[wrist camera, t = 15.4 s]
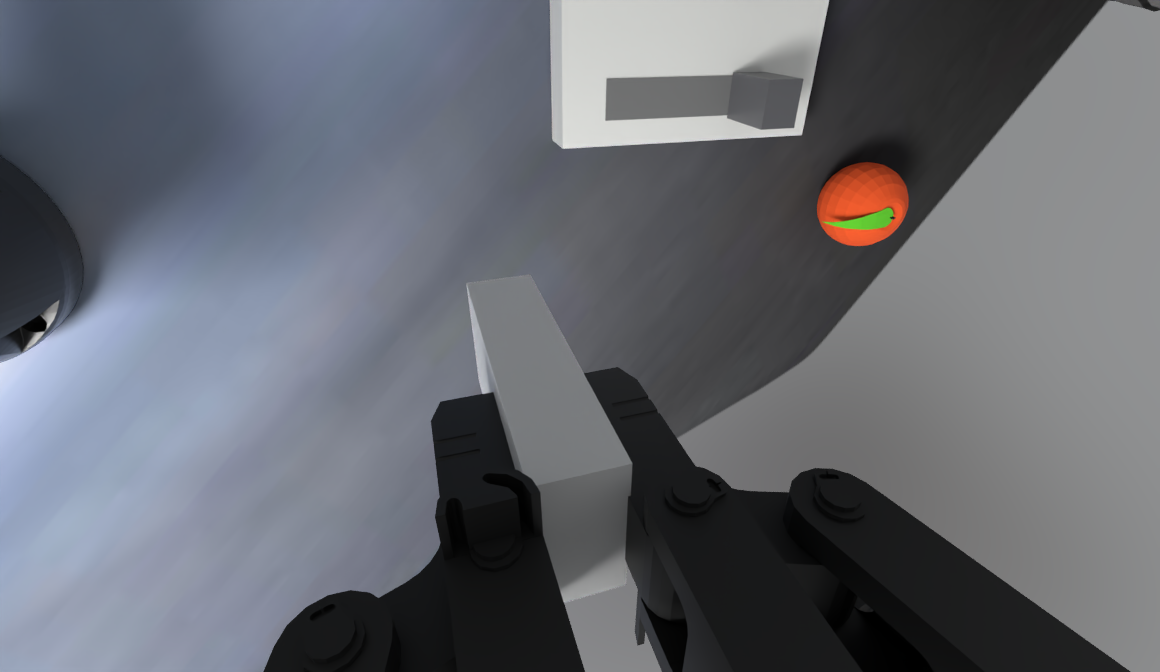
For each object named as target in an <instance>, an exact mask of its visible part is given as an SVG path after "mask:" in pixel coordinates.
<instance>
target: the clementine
mask: <svg viewBox="0 0 1160 672" xmlns="http://www.w3.org/2000/svg"><path fill="white" fill-rule="evenodd" d="M908 202H909V198H908V192H907V188H906V185H905V183H904V182H903V180H902V179H901V177H900V176H899V175H898V173H896V172H895V171H893V170H892V169H890V168H889V167H887V166H885V165H882V164H877V163H871V162H863V163H857V164H853V165H849V166H847V167H845V168H843V169H841V170H840V171H838V172H837V173H836V174H834V175H833V176H832V177H831V178H830V179H829V180H828V181H827V182H826V183H825V185H824V186H823V188H822V190H821V192H820V195H819V198H818V203H817V216H818V219H819V222H820V224H821V226H822V228H823V229H824V231H825V232H826V233H827V234H828V235H829V236H830V237H832V238H833V239H834V240H836V241H838V242H840V243H843V244H846V245H851V246H865V245H871V244H874V243H876V242H878V241H881V240H883V239H885V238H887V237H888V236H889V235H891V234H892V233H893V232H894V231H895V230H896V229H897V228H898V227H899V225H900V224H901V223H902V221H903V219H904V217H905V215H906V213H907V209H908Z"/></svg>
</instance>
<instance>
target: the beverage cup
mask: <svg viewBox="0 0 1160 672" xmlns="http://www.w3.org/2000/svg"><path fill="white" fill-rule="evenodd" d="M1110 1H1118V2H1121V3H1124V4H1128V5H1133V6H1137V7H1142V8H1145V9H1148V10H1151V11H1158V10H1160V0H1110Z"/></svg>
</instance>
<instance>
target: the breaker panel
mask: <svg viewBox="0 0 1160 672" xmlns="http://www.w3.org/2000/svg"><path fill="white" fill-rule="evenodd" d="M828 4H829V0H550V41H551V98H552V140H553V141H554V142H555V143H557V144H558V145H559V146H560V147H561V148H563V149H566V148H584V147H601V146H619V145H636V144H654V143H671V142H689V141H706V140H724V139H741V138H759V137H776V136H794V135H802V132H803V127H804V122H805V117H806V112H807V107H808V102H809V97H810V92H811V88H812V83H813V78H814V73H815V68H816V63H817V58H818V53H819V48H820V43H821V38H822V33H823V28H824V23H825V19H826V14H827V9H828Z"/></svg>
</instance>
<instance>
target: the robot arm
mask: <svg viewBox="0 0 1160 672" xmlns="http://www.w3.org/2000/svg"><path fill="white" fill-rule="evenodd" d="M82 280H83V265H82V258H81V254H80V250H79V247H78V244H77V241H76V239H75V236H74V234H73V232H72V230H71V228H70V226H69V224H68V223H67V221H66V220H65V218H64V216H63V215H62V213H61V212H60V211H59V209H58V208H57V207H56V205H55V204H54V203H53V202H52V201H51V199H50V198H49V197H48V196H47V195H46V194H45V193H44V192H43V191H42V190H41V189H40V188H39V187H38V186H37V185H36V184H35V183H34V182H33V181H32V180H31V179H30V178H28V177H27V176H26V175H25V174H24V173H22V172H21V171H20V170H19V169H17V168H16V167H15V166H13V165H12V164H11V163H9V162H8V161H6V160H5V159H3V158H2V157H0V363H1V362H4V361H7V360H9V359H12V358H14V357H16V356H18V355H20V354H22V353H24V352H26V351H28V350H29V349H31V348H32V347H34V346H36V345H37V344H39V343H40V342H41V341H42V340H44V339H45V338H46V337H47V336H48V335H49V334H50V333H51V332H52V331H53V330H54V329H55V328H56V327H57V326H59V325H60V324H61V323H62V322H63V321H64V320H65V318H66V317H67V316H68V315H69V314H70V312H71V311H72V309H73V308H74V306H75V304H76V302H77V300H78V297H79V295H80V291H81V287H82ZM466 284H467V292H468V299H469V307H470V315H471V322H472V330H473V338H474V346H475V353H476V361H477V369H478V377H479V382H480V386H481V390H482V394H480V395H474V396H469V397H464V398H458V399H453V400H447V401H442V402H440V404H439V406H438V408H437V410H436V412H435V414H434V416H433V418H432V420H431V425H432V434H433V442H434V451H435V459H436V469H437V477H438V486H439V495H440V498H439V499H438V501H437V508H436V514H435V519H436V523H437V528H438V533H439V537H440V542H441V543H440V546H439V549H438V551H437V552H436V554H435V556H434V557H433V559H432V560H431V562H430V563H429V564H428V565H427V566H426V567H425V568H424V569H423V570H422V571H421V572H420V573H419V574H417V575H416V576H415V577H413V578H412V579H410V580H409V581H407V582H406V583H404V584H403V585H401V586H399V587H397V588H395V589H394V590H392V591H390V592H388V593H387V594H385V595H383V596H381V597H380V598H377V597H376V596H374V595H373V594H371V593H368V592H360V591H352V590H350V591H345V592H341V593H336V594H332V595H328V596H326V597H324V598H322V599H321V600H319V601H317V602H315V603H313V604H311V605H309V606H308V607H306V608H305V609H304V610H303V611H302V612H301V613H300V614H299V615H297V616H296V617H295V618H294V619H293V620H292V621H291V622H290V623H289V624H288V625H287V626H286V628H285V629H284V631H283V633H282V634H281V636H280V638H279V639H278V641H277V643H276V644H275V646H274V648H273V650H272V653H271V655H270V657H269V660H268V662H267V665H266V667H265V669H264V672H585V670H584V667H583V664H582V661H581V658H580V654H579V651H578V648H577V644H576V641H575V638H574V634H573V631H572V628H571V625H570V621H569V618H568V615H567V611H566V608H565V605H564V603H565V602H569V601H572V600H576V599H579V598H582V597H586V596H590V595H593V594H597V593H600V592H603V591H607V590H611V589H614V588H618V587H621V586H624V585H626V578H627V565H628V567H629V570H630V572H631V574H632V577H633V579H634V581H635V583H636V586H637V588H638V596H637V610H636V625H635V634H636V640H637V644H638V645H640V644H644V638H645V631H646V633H647V636H648V639H649V641H650V644H651V646H652V648H653V651H654V653H655V655H656V658H657V660H658V663H659V665H660V668H661V670H662V672H1130V671H1129V670H1127V669H1126V668H1125V667H1123V666H1122V665H1120V664H1119V663H1118V662H1116V661H1115V660H1113V659H1112V658H1111V657H1109V656H1108V655H1106V654H1105V653H1104V652H1102V651H1101V650H1099V649H1098V648H1096V647H1095V646H1094V645H1092V644H1091V643H1090V642H1088V641H1086V640H1085V639H1084V638H1083V637H1081V636H1080V635H1078V634H1077V633H1076V632H1074V631H1073V630H1071V629H1070V628H1069V627H1067V626H1066V625H1064V624H1063V623H1062V622H1060V621H1059V620H1057V619H1056V618H1055V617H1053V616H1052V615H1050V614H1049V613H1047V612H1046V611H1045V610H1043V609H1042V608H1041V607H1039V606H1038V605H1036V604H1035V603H1034V602H1032V601H1031V600H1030V599H1028V598H1027V597H1025V596H1024V595H1022V594H1021V593H1020V592H1018V591H1017V590H1016V589H1014V588H1013V587H1011V586H1010V585H1009V584H1007V583H1006V582H1004V581H1003V580H1002V579H1000V578H999V577H997V576H996V575H994V574H993V573H992V572H990V571H989V570H987V569H986V568H985V567H983V566H982V565H981V564H979V563H978V562H976V561H975V560H974V559H972V558H971V557H969V556H968V555H966V554H965V553H964V552H962V551H961V550H960V549H958V548H957V547H955V546H954V545H953V544H951V543H950V542H948V541H947V540H946V539H944V538H943V537H941V536H940V535H939V534H937V533H936V532H934V531H933V530H932V529H930V528H929V527H927V526H926V525H925V524H923V523H922V522H921V521H919V520H918V519H916V518H915V517H913V516H912V515H911V514H909V513H908V512H907V511H905V510H904V509H902V508H901V507H900V506H898V505H897V504H895V503H894V502H893V501H891V500H890V499H888V498H887V497H886V496H884V495H883V494H881V493H880V492H878V491H877V490H876V489H874V488H873V487H872V486H870V485H869V484H867V483H866V482H864V481H862V480H860V479H858V478H857V477H855V476H853V475H851V474H848V473H844V472H841V471H838V470H834V469H820V468H815V469H811V470H808V471H805V472H801V473H800V474H799V475H798V476H797V477H796V478H795V479H794V480H792V483H791V487H790V491H789V493H787V492H757V491H744V490H736V489H732V488H731V487H730V486H729V485H728V484H727V483H726V482H725V481H724V480H723V479H722V478H721V477H720V476H719V475H717V474H715V473H713V472H711V471H709V470H707V469H705V468H701V467H696V466H695V465H694V463H693V462H692V460H691V459H690V458H689V456H688V455H687V453H686V452H685V450H684V449H683V447H682V446H681V444H680V443H679V441H678V440H677V438H676V437H675V435H674V434H673V432H672V431H671V429H670V428H669V426H668V425H667V423H666V422H665V420H664V419H663V417H662V416H661V414H660V413H658V412H657V409H656V407H655V406H654V404H653V403H652V401H651V400H649V399H648V395H647V394H646V392H645V391H644V389H643V388H642V386H641V385H640V383H639V382H638V380H637V379H635V378H634V377H632V376H631V375H629V374H627V373H626V372H624V371H623V370H621V369H620V368H618V367H616V368H611V369H605V370H600V371H595V372H589V373H583V371H582V369H581V368H580V366H579V364H578V362H577V360H576V358H575V357H574V355H573V353H572V351H571V349H570V347H569V345H568V344H567V342H566V340H565V338H564V336H563V334H562V333H561V331H560V329H559V327H558V325H557V323H556V321H555V320H554V318H553V316H552V314H551V312H550V310H549V309H548V307H547V305H546V303H545V301H544V299H543V297H542V296H541V294H540V292H539V290H538V288H537V286H536V285H535V283H534V281H533V279H532V277H531V275H523V276H516V277H508V278H501V279H493V280H486V281H479V282H471V283H466Z"/></svg>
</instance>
